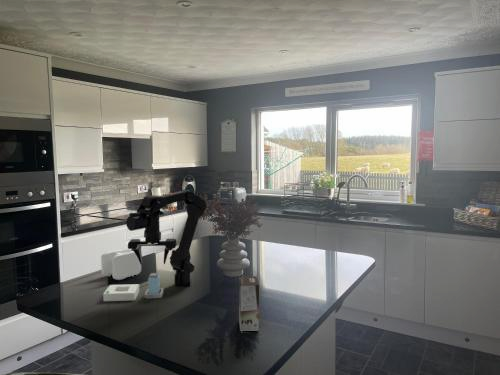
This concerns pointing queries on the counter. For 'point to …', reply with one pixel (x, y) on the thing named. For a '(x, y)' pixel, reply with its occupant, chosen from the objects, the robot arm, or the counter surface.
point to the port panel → (121, 292)
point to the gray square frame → (154, 294)
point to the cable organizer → (120, 264)
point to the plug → (154, 283)
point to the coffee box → (249, 303)
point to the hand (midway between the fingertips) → (153, 264)
